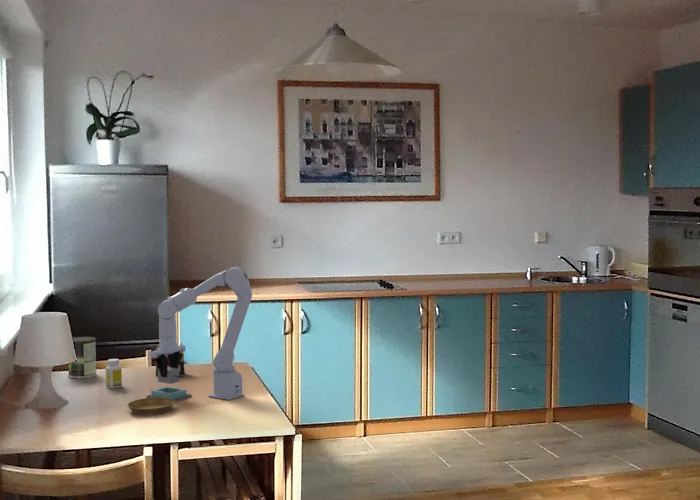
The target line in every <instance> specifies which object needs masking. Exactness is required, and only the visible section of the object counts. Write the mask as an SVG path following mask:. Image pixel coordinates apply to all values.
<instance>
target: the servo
mask: <svg viewBox="0 0 700 500" xmlns="http://www.w3.org/2000/svg"><path fill="white" fill-rule="evenodd" d="M179 371H180V367H179V368H172V367H167V377H161V375H160V371H159V368H158V374H157V375H158V376H157V382H158V383H164V384H169V385H172V384H175V383H179V382H180V379H183V378H184V375H179Z"/></svg>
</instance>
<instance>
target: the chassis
mask: <svg viewBox="0 0 700 500" xmlns="http://www.w3.org/2000/svg"><path fill="white" fill-rule="evenodd" d="M191 397H193V396H192V394H191V393H187V389H185V388H178V387H172V386H163V387H160V388H157V389H156V388H155V389H153V390H151V394H147V395H146V398H169V399H172V400H174V401H175V402H178V400H179V401H181V399H182V400H186V399H188V398H191Z"/></svg>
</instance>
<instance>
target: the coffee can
mask: <svg viewBox="0 0 700 500" xmlns="http://www.w3.org/2000/svg"><path fill="white" fill-rule="evenodd" d="M71 338H72V340H73V344H74V349H75V353H76V357H77V362H75V363H72V364H69V365H68V364H67V365H68V377H69V378H71V379H87V378H92V377H96V376H97V357H96V356H97V355H96V351H97V349H96V341H97V338H96V337H94V336H75V337H74V336H73V337H71Z"/></svg>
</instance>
